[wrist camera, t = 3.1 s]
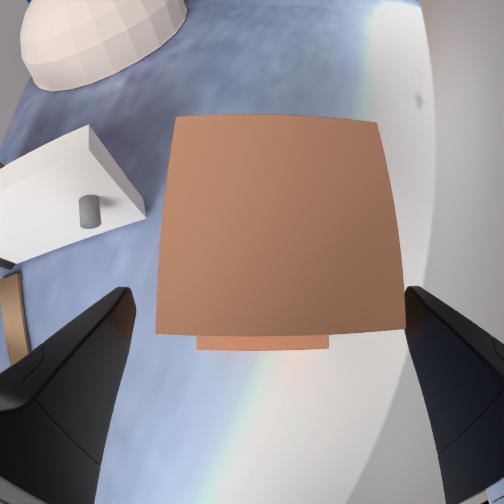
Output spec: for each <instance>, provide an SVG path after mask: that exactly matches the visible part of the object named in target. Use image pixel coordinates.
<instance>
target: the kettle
mask: <svg viewBox="0 0 504 504" xmlns="http://www.w3.org/2000/svg"><path fill="white" fill-rule="evenodd" d="M27 2H28V3H30V5H29V7H28V9H27V11H26V13H25V16H24V21H23V24H22V28H21V32H20V41H21V52H22V59H23V61H24V63H25V65H26V66H27V68H28V70H29V72H30V74H31V76H32V78H33V80H34V83H35V84H36V85H37V86H38V87H39V88H40V89H44V90H48V91H61V90H71V89H75V88H78V87H82V86H85V85H89V84H93V83H95V82H97V81H100V80H102V79H104V78H107V77H109V76H112V75H114V74H116V73H118V72H120V71H122V70H124V69H126V68H127V67H129V66H131V65H133V64H135V63H137V62H139V61H140V60H142V59H143V58H145V57H146V56H148V55H149V54H151V53H152V52H154V51H155V50H157V49H158V48H160V47H161V46H162V45H163V44H164V43H165V42H166V41H168V40H169V39H170V38H171V37H172V36H173V35H174V34H175V33H176V32H177V31H178V29H179V28H180V27H181V25H182V24H183V22H184V21H185V18H186V13H187V8H186V6H185V4H184V1H183V0H27Z"/></svg>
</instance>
